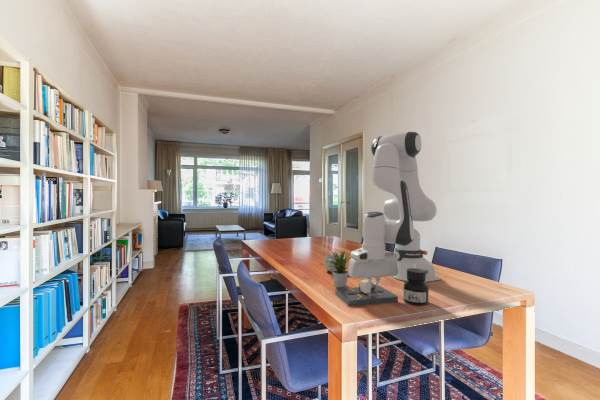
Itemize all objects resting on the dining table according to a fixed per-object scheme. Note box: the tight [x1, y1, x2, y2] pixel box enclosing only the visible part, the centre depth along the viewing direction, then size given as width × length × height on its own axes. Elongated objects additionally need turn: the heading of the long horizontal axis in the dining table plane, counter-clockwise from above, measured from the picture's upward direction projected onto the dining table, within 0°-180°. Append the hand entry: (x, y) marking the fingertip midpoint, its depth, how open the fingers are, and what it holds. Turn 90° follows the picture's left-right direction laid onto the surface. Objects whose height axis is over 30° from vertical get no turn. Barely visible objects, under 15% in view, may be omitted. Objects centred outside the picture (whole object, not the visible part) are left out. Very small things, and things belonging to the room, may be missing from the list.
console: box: [334, 282, 399, 307], centre depth 118 cm, size 20×14×4 cm
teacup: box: [324, 253, 345, 273], centre depth 157 cm, size 14×11×8 cm
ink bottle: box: [402, 268, 430, 306], centre depth 114 cm, size 10×9×12 cm
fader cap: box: [359, 279, 371, 293], centre depth 118 cm, size 2×4×4 cm, turn 13°
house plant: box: [326, 249, 352, 288], centre depth 135 cm, size 14×14×16 cm
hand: (373, 287), depth 119 cm, fingers closed
